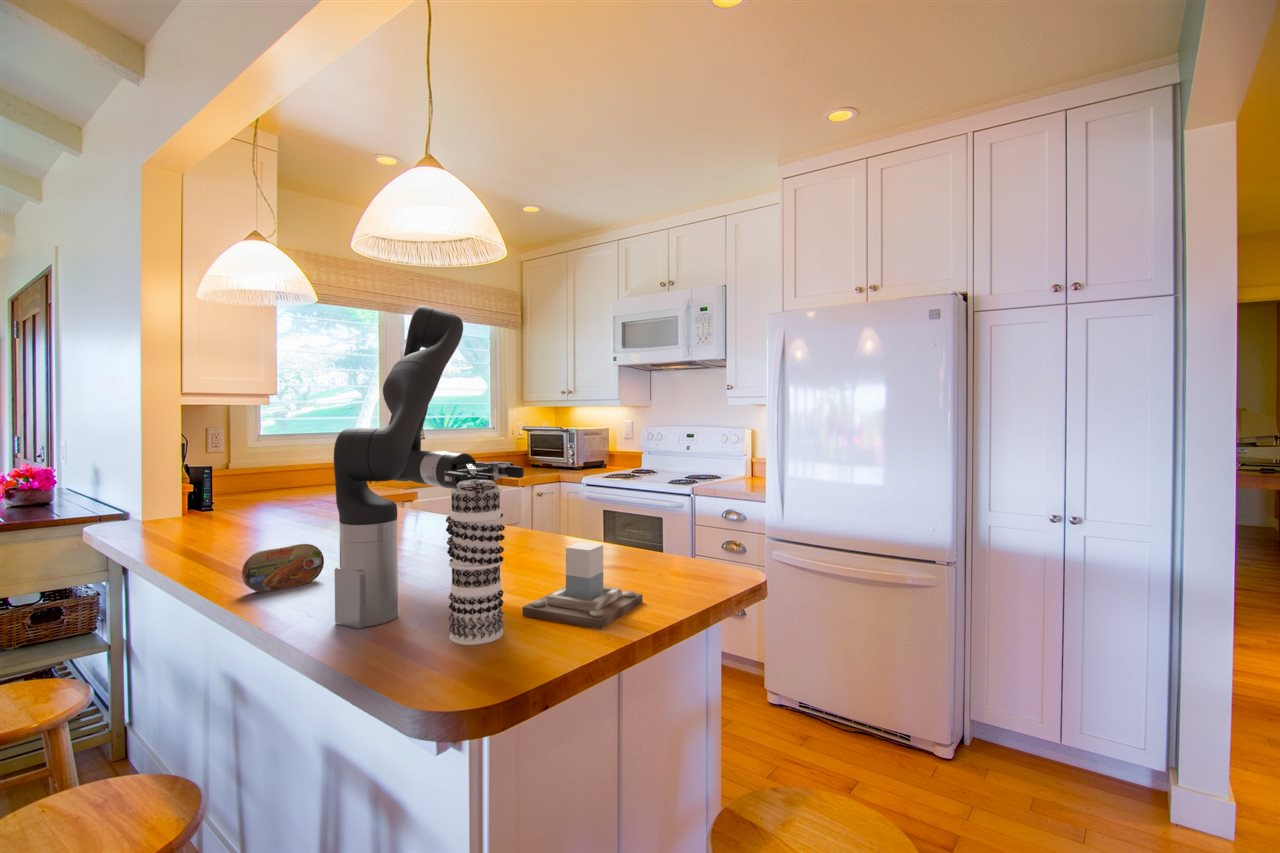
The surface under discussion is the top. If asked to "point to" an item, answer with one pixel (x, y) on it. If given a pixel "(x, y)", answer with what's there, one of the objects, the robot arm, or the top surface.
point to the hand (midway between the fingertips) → (508, 476)
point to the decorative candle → (475, 563)
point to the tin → (282, 567)
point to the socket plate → (584, 607)
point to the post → (584, 571)
